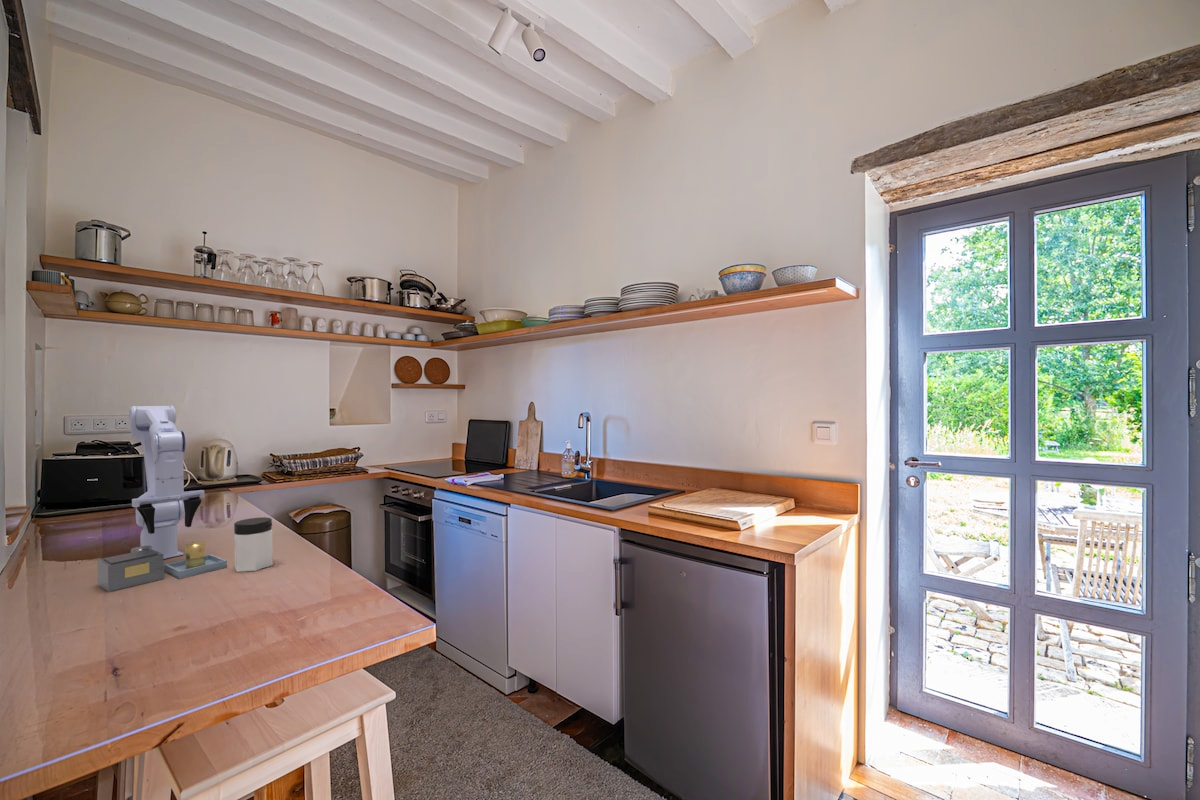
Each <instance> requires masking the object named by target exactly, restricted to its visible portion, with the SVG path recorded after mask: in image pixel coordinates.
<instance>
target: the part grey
mask: <svg viewBox="0 0 1200 800" xmlns="http://www.w3.org/2000/svg"><path fill="white" fill-rule="evenodd" d="M148 549H149V550H150V549H152V546H136V547H132V548H131V549H130V553H133V552H138V551H143V550H148Z"/></svg>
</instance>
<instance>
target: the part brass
mask: <svg viewBox="0 0 1200 800" xmlns="http://www.w3.org/2000/svg"><path fill="white" fill-rule="evenodd" d="M184 546H185V547H184V550H185V555H184V557H185V560H186V569H190V568H194V567H199V566H203V565H206V561H205V555H206V541H195V542H190V543H187V544H184Z"/></svg>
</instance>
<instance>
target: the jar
mask: <svg viewBox="0 0 1200 800" xmlns="http://www.w3.org/2000/svg"><path fill="white" fill-rule="evenodd" d="M233 525H234V527H233V528H234V529H233V531H234V536H233V537H234V540H233V541H234V568H235V572H237V573H240V572H241V573H242V572H256V571H257V572H258V571H260V570H262V568H263V569H265V567H266V568H269V567H271V566H273V562H274V561H273V554H274V553H273V549H274V548H273V530H272V529H273V520H272V518H271V517H265V516H264V517H253V518H252V517H251V518H246V519H240V520H238V521H235V522H234V524H233ZM268 566H269V567H268Z"/></svg>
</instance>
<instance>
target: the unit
mask: <svg viewBox="0 0 1200 800" xmlns="http://www.w3.org/2000/svg"><path fill="white" fill-rule="evenodd" d="M164 560H165V559H164V556H163V554H162V553H159V552H157V551H155V550H153V549H150V550H149V549H148V550H143V551H138V552H133V553H131V552H129V553H123V554H119V555H113V556H109V557H104V558H101V559H97V586H98V587H100V588H101V589H103V590H105V592H108V593H111V592H115V591H118V590H123V589H127V588H131V587H135V586H139V585H144V584H147V583H151V582H155V581H156V582H157V581H159V580H161V581H162V580H164V578H165V572H164V564H165V563H164Z"/></svg>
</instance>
